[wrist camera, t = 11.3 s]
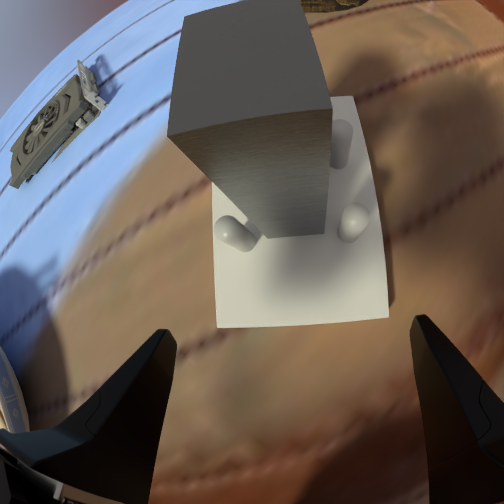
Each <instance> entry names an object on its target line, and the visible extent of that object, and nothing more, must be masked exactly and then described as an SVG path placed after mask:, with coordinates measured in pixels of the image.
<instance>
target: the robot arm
mask: <svg viewBox="0 0 504 504" xmlns="http://www.w3.org/2000/svg"><path fill="white" fill-rule="evenodd" d="M410 341H411V349H412V358H413V367H414V375H415V380H416V385H417V390H418V396H419V401H420V407H421V413H422V420H423V426H424V434H425V442H426V451H427V461H428V476H429V499H430V504H504V403H503V402H502V400H501V399H500V398H499V397H498V396H497V395H496V394H495V393H494V391H493V390H492V389H491V388H490V387H489V386H488V384H487V383H486V382H485V381H484V380H482V377H481V376H480V375H479V373H478V372H477V371H476V370H475V369H474V367H473V366H472V365H471V364H470V363H469V362H468V360H467V359H466V358H465V357H464V356H463V355H462V353H461V352H460V351H459V350H458V349H457V348H456V347H455V346H454V344H453V343H452V342H451V341H450V340H449V339H448V338H447V337H446V336H445V334H444V333H443V332H442V331H441V330H440V329H439V328H438V327H437V326H436V325H435V324H434V323H433V322H432V320H431V319H430V318H429V317H428V316H427V315H425V314H422V315H416V316H415V317H414V319H413V322H412V325H411V328H410ZM176 351H177V343H176V340H175V339H174V337H173V336H172V334H171V332H170V331H169V330H168V329H158V330H157V331H156V332H155V333H154V334H153V335H152V336H151V337H150V338H149V339H148V340H147V341H146V342H145V343H144V344H143V345H142V346H141V347H140V348H139V349H138V350H137V351H136V352H135V353H134V354H133V355H132V356H131V357H130V358H129V359H128V360H127V361H126V362H125V363H124V364H123V365H122V366H121V367H120V368H119V369H118V370H117V371H116V372H115V373H114V374H113V375H112V376H111V377H110V378H109V379H108V380H107V381H106V382H105V383H104V384H103V385H102V386H101V387H100V388H99V389H98V390H97V391H96V392H95V393H94V394H93V395H92V396H91V397H90V398H89V399H88V400H87V401H86V402H85V403H83V404H82V405H81V406H80V407H79V408H78V409H77V410H75V411H74V412H73V413H72V414H71V415H69V416H68V417H67V418H66V419H65V420H63V421H62V422H61V423H60V424H58V425H56V426H54V427H52V428H48V429H42V430H36V431H30V432H23V433H10V432H9V431H7V430H6V429H4V428H1V429H0V444H1V445H2V446H3V447H5V448H6V449H7V450H8V451H9V452H8V451H6V450H5V449H3V448H2V447H0V504H148V500H149V494H150V488H151V483H152V477H153V472H154V466H155V461H156V456H157V450H158V446H159V441H160V436H161V431H162V426H163V422H164V417H165V412H166V408H167V403H168V399H169V395H170V390H171V386H172V381H173V375H174V366H175V358H176ZM11 453H12V454H11Z"/></svg>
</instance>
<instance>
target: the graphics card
mask: <svg viewBox="0 0 504 504" xmlns="http://www.w3.org/2000/svg"><path fill="white" fill-rule="evenodd" d="M77 66H78V71H79V76H78V75H77V74H76V75H74V76H73V77H72V78H71V79H70V80H69V81H68V82H67V83H66V84H65V85H64V86H63V87H62V88H61V89H60V90H59V91H58V92H57V93H56V94H55V95H54V96H53V97H52V98H51V99H50V100H49V101H48V103H47V104H46V105H45V106H44V107H43V108H42V109H41V110H40V111H39V112H38V114H37V115H36V116H35V117H34V119H33V120H32V121H31V122H30V124H29V125H28V126H27V127H26V129H25V130H24V131H23V133H22V134H21V135H20V136H19V138H18V139H17V140H16V142H15V143H14V145H13V146H12V147H11V150H10V151H11V152H13V155H12V161H11V173H12V181H11V183H10V184H9V185H10V186H12V187H15V188H17V189H18V188H19V187H20V185H21V184H22V183H23V181H24V180H25V179H29V177H30V176H31V175H35V174H36V172H37V171H38V170H39V169H40V168H41V166H42V165H43V164H44V163H45V162H46V161H47V160H48V158H49V157H50V156H51V155H52V154H53V153H54V152H55V151H56V149H57V148H58V147H59V146H60V145H61V144H62V143H63V142H64V141H65V140H66V139H67V140H66V141H65V143H64V144H63V146H62V147H61V149H60V150H59V152H58V154H57V155H56V157H55V158H54V160H55V159H56V158H57V157H58V156H59V155H60V154H61V152H62V151H63V150H64V149H65V148H66V147H67V146H68V145H69V144H70V143H71V142H72V141H73V140H74V139H75V138H76V137H77V136H78V135H79V134H80V133H81V132H82V131H83V130H84V129H85V128H86V127H87V126H88V125H89V124H90V123H92V122H93V121H94V120H95V119H96V118H97V117H98V116H99V115H100V113H101V111H102V110H104V108H105V107H107V106H108V105H109V104H107V105H106V106H105V105H104V104H105V103H106V102H105V101H104V100H103V99H102V98H100V97H99V96H98V94H99V93H100V89H99V87H98V86H97V85H96V84H95V82H96V81H97V80H96V76H95V74H94V73H93V72H90V71H89V68H88V67H87V66H85V67H84V65H83V64H82V62H81V61H80V60H77ZM80 70H81V71H82V72H83V73H84V74H85V75H86V76H85V75H84V74H83V73H82V72H81V71H80ZM82 77H83V78H84V79H85V80H86V81H87V82H86V81H85V80H84V79H83V78H82ZM85 77H86V78H85ZM82 80H83V81H82ZM84 81H85V82H86V83H87V84H84ZM80 82H81V83H80ZM83 84H84V85H85V86H86V87H87V88H86V87H85V86H84V85H83ZM97 96H98V97H97ZM89 102H90V105H91V106H90V105H89ZM84 112H85V113H84ZM47 114H48V115H47ZM46 115H47V116H46ZM44 118H45V119H44ZM75 121H76V127H75V128H74V130H73V129H72V128H73V127H74V122H75ZM54 160H53V161H54Z"/></svg>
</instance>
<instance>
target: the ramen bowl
mask: <svg viewBox="0 0 504 504" xmlns="http://www.w3.org/2000/svg"><path fill="white" fill-rule="evenodd" d="M1 428H4V429H6V430H7V431H9V432H10V433H23V432H30V429H29V420H28V413H27V410H26V406H25V402H24V398H23V394H22V391H21V388H20V385H19V382H18V380H17V378H16V376H15V373H14V370H13V368H12V366H11V364H10V362H9V360H8V358H7V356H6V354H5V352H4V351H3V349H2V347H1V346H0V429H1ZM0 447H2V448H3V449H5V450H6V451H8V450H7V449H6V448H5V447H3V446H2V445H1V444H0ZM8 452H9V451H8ZM11 454H12V453H11Z"/></svg>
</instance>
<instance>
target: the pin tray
mask: <svg viewBox="0 0 504 504" xmlns="http://www.w3.org/2000/svg"><path fill="white" fill-rule="evenodd" d="M330 99H331V103H332V107H333V117H332V141H331V159H330V174H329V187H328V199H327V210H326V221H325V230H324V234H315V235H304V236H293V237H282V238H271V239H267V238H266V237H265V236H264V235H263V234H262V232H261V231H260V230H259V229H258V228H257V227H256V226H255V225H254V224H253V223H252V222H251V221H250V220H249V219H248V218H247V217H246V216H245V215H244V214H243V213H242V212H241V211H240V210H239V209H238V208H237V207H236V206H235V204H234V203H233V202H232V201H231V200H230V199H229V198H228V197H227V196H226V195H225V194H224V193H223V192H222V191H221V190H220V189H219V188H218V187H217V186H216V185H215V184H214V183H213V182H212V209H213V249H214V276H215V298H216V317H217V328H238V327H272V326H293V325H310V324H324V323H337V322H348V321H358V320H368V319H377V318H386V317H389V308H388V290H387V276H386V265H385V255H384V246H383V237H382V230H381V222H380V216H379V209H378V203H377V197H376V191H375V186H374V181H373V176H372V171H371V166H370V161H369V157H368V152H367V148H366V144H365V139H364V135H363V131H362V127H361V124H360V120H359V116H358V113H357V109H356V106H355V102H354V99H353V96H338V97H330Z"/></svg>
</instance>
